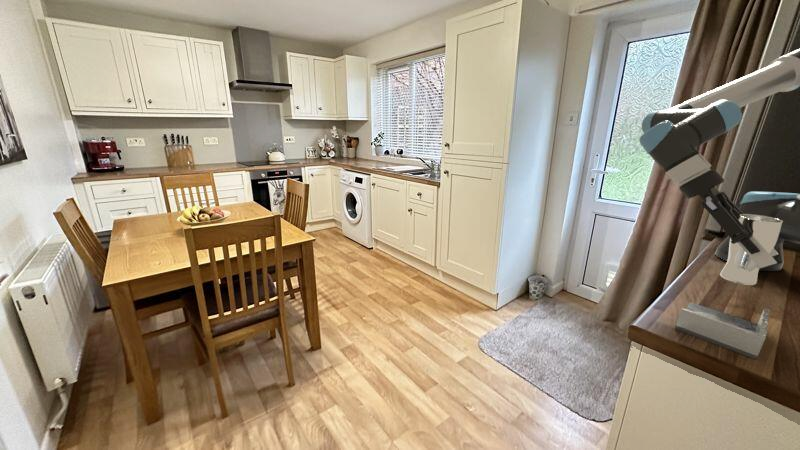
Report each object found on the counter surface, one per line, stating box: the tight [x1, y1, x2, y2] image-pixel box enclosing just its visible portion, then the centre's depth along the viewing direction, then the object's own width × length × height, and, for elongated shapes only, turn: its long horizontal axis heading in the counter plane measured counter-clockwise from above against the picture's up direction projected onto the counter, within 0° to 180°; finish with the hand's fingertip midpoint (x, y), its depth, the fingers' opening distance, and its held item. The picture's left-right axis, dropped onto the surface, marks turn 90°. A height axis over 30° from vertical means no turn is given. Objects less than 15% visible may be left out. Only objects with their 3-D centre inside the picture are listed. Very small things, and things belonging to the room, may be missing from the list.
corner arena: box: [674, 302, 771, 360], centre depth 68 cm, size 15×12×5 cm
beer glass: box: [719, 214, 783, 286], centre depth 72 cm, size 7×7×15 cm
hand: (769, 260), depth 70 cm, fingers closed on beer glass, 7 cm apart
